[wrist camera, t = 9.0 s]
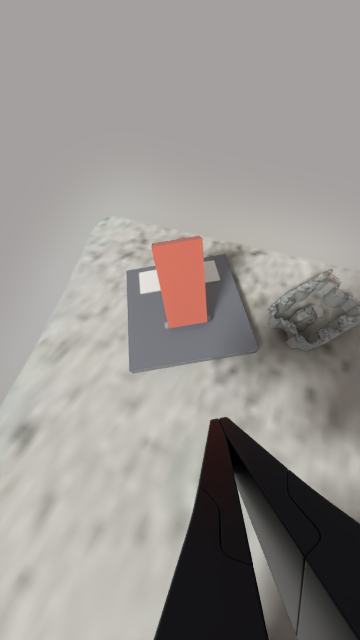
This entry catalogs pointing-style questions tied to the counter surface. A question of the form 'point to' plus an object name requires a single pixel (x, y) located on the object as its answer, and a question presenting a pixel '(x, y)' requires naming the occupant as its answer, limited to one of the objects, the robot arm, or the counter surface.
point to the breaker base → (192, 340)
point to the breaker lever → (182, 280)
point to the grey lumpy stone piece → (315, 312)
